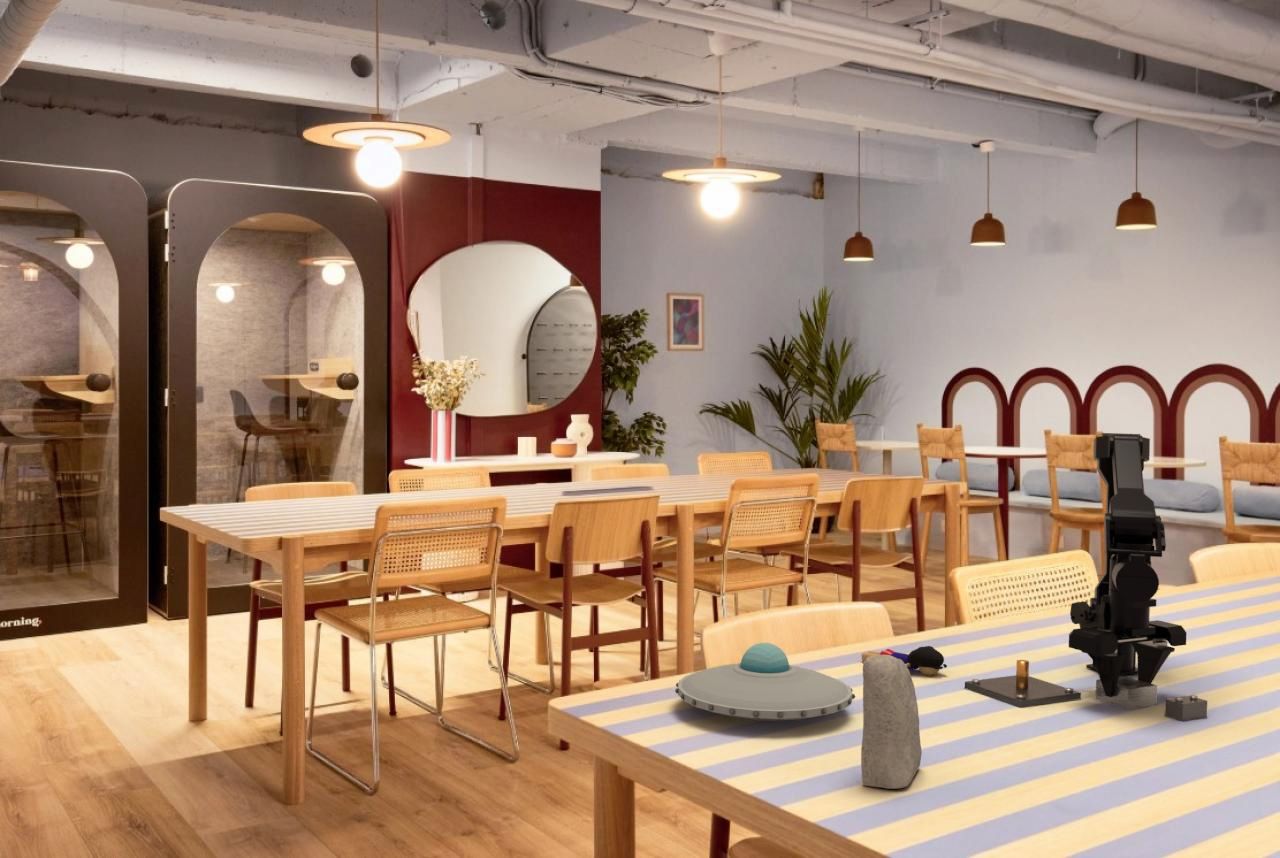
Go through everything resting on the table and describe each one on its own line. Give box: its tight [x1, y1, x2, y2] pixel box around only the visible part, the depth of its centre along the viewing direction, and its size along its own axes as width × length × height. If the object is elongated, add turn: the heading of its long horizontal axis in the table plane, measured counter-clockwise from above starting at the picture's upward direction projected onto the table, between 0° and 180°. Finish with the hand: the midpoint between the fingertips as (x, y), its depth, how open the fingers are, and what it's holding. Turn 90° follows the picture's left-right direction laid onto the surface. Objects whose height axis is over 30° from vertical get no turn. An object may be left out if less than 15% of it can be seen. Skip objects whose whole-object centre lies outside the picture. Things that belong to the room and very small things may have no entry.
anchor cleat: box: [1164, 694, 1208, 722], centre depth 174 cm, size 5×3×3 cm, turn 116°
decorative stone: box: [860, 655, 922, 790], centre depth 146 cm, size 11×6×15 cm, turn 150°
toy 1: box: [674, 642, 856, 721], centre depth 173 cm, size 26×26×10 cm
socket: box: [1095, 675, 1158, 710], centre depth 182 cm, size 6×6×3 cm
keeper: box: [964, 659, 1082, 708], centre depth 186 cm, size 12×12×5 cm
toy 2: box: [861, 645, 948, 677], centre depth 200 cm, size 10×5×15 cm
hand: (1126, 694), depth 182 cm, fingers open, 7 cm apart
